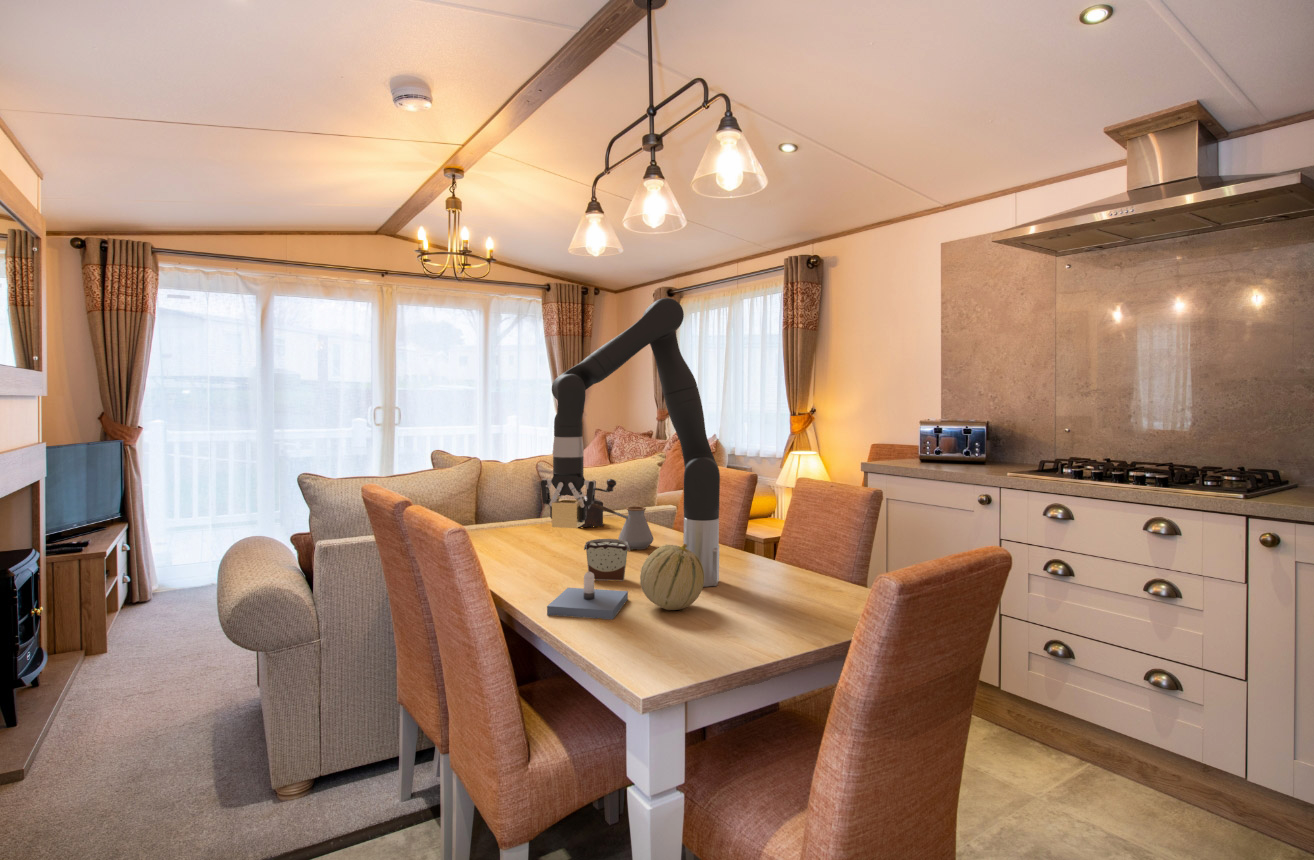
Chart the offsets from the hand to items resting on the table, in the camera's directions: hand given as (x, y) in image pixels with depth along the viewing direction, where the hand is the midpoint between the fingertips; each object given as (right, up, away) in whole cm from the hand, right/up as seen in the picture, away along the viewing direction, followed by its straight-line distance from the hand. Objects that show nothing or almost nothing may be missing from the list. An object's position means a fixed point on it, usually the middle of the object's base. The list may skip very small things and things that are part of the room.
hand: (568, 521), depth 166 cm
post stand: (+6, -18, -12) cm, 23 cm away
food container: (+9, -17, +14) cm, 24 cm away
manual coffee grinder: (-2, -14, +89) cm, 90 cm away
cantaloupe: (+26, -19, -13) cm, 34 cm away
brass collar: (0, -1, 0) cm, 1 cm away
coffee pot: (+10, -16, +50) cm, 53 cm away
